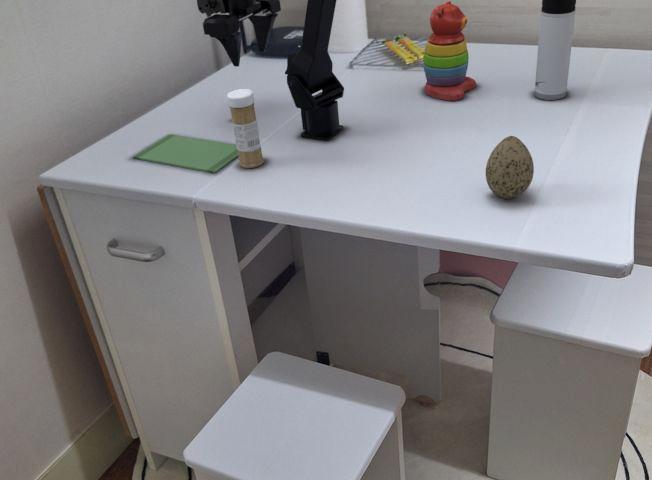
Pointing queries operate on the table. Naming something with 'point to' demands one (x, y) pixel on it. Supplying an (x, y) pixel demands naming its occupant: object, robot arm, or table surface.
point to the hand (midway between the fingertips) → (249, 58)
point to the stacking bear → (447, 55)
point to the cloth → (190, 153)
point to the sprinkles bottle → (245, 127)
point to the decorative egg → (509, 168)
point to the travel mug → (554, 48)
